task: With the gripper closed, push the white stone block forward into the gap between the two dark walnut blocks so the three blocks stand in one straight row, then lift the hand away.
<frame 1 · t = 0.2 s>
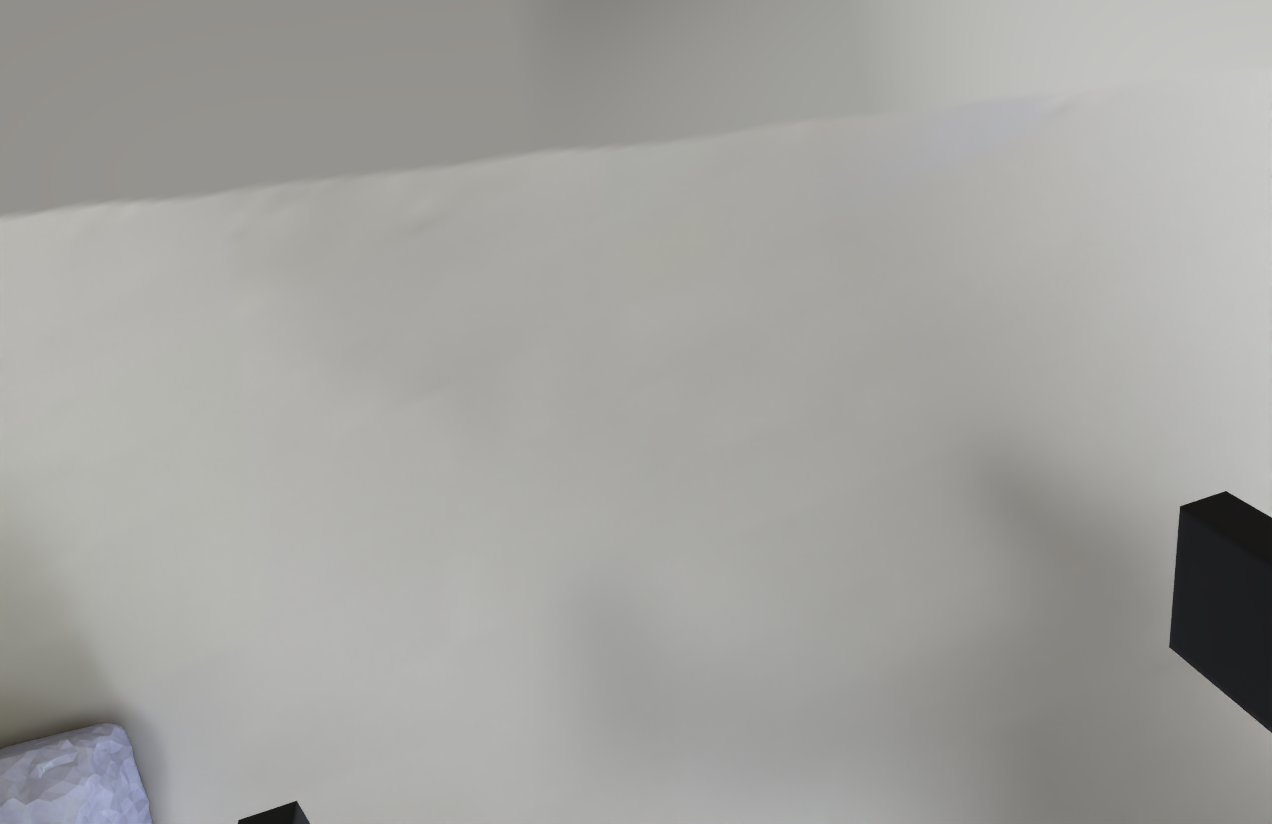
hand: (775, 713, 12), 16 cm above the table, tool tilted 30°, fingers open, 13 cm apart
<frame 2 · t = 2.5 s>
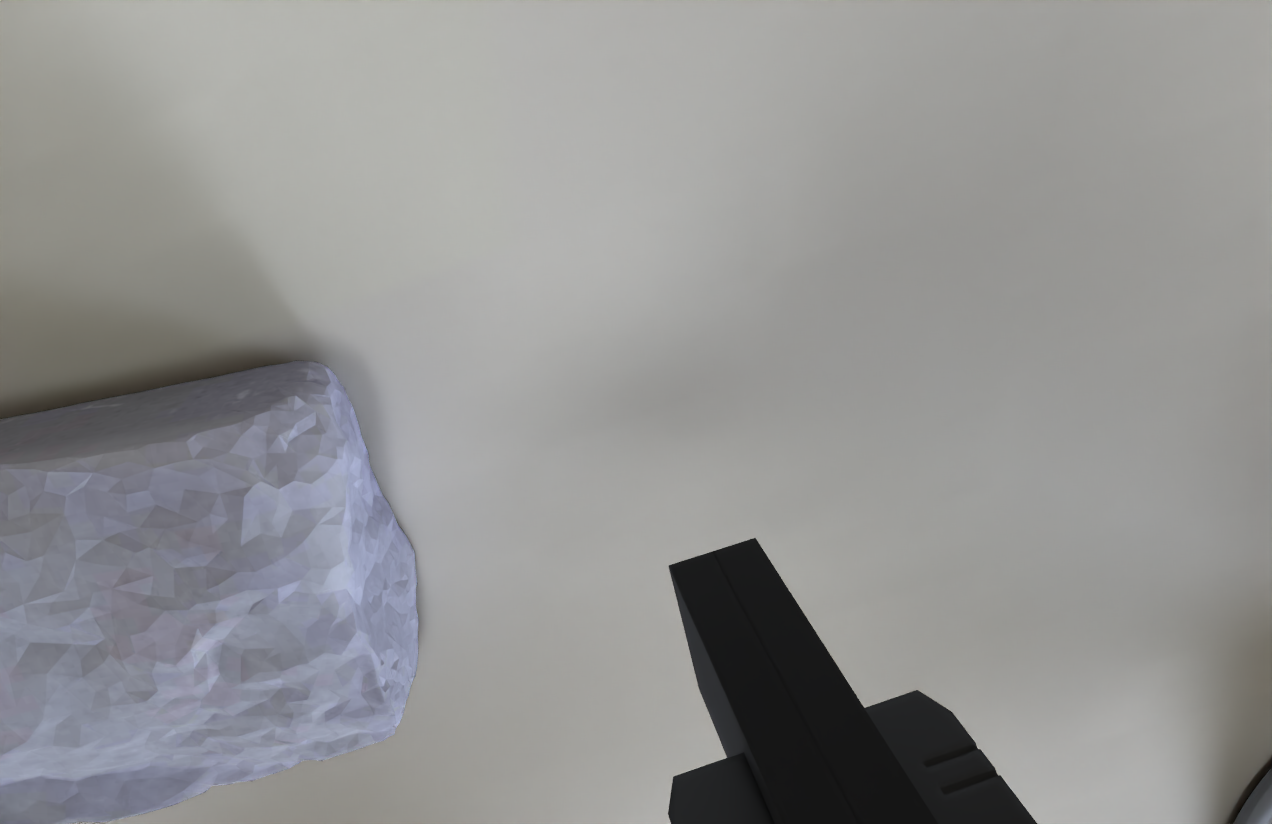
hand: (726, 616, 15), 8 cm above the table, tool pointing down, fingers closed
stone block: (157, 575, 21), on the table
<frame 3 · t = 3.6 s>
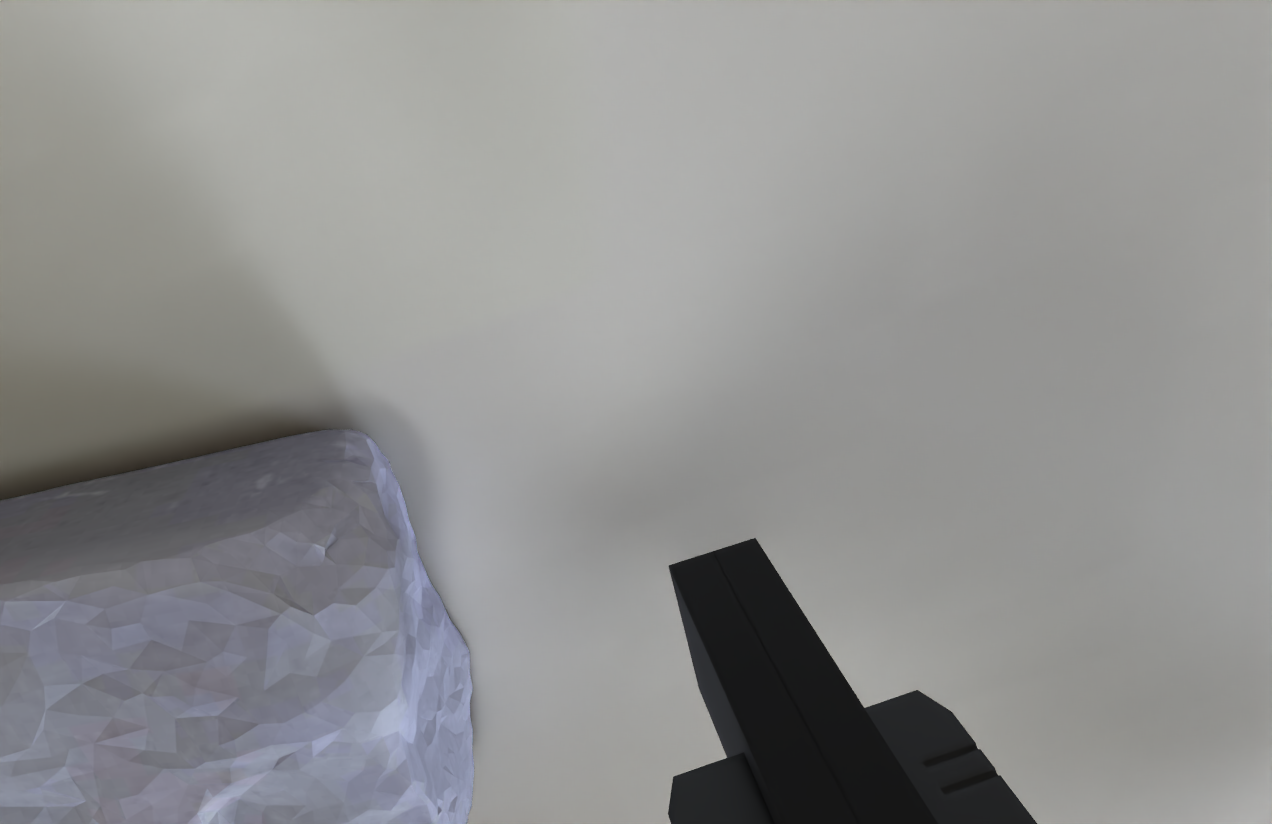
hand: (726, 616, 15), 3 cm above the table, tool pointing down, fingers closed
stone block: (154, 686, 17), on the table
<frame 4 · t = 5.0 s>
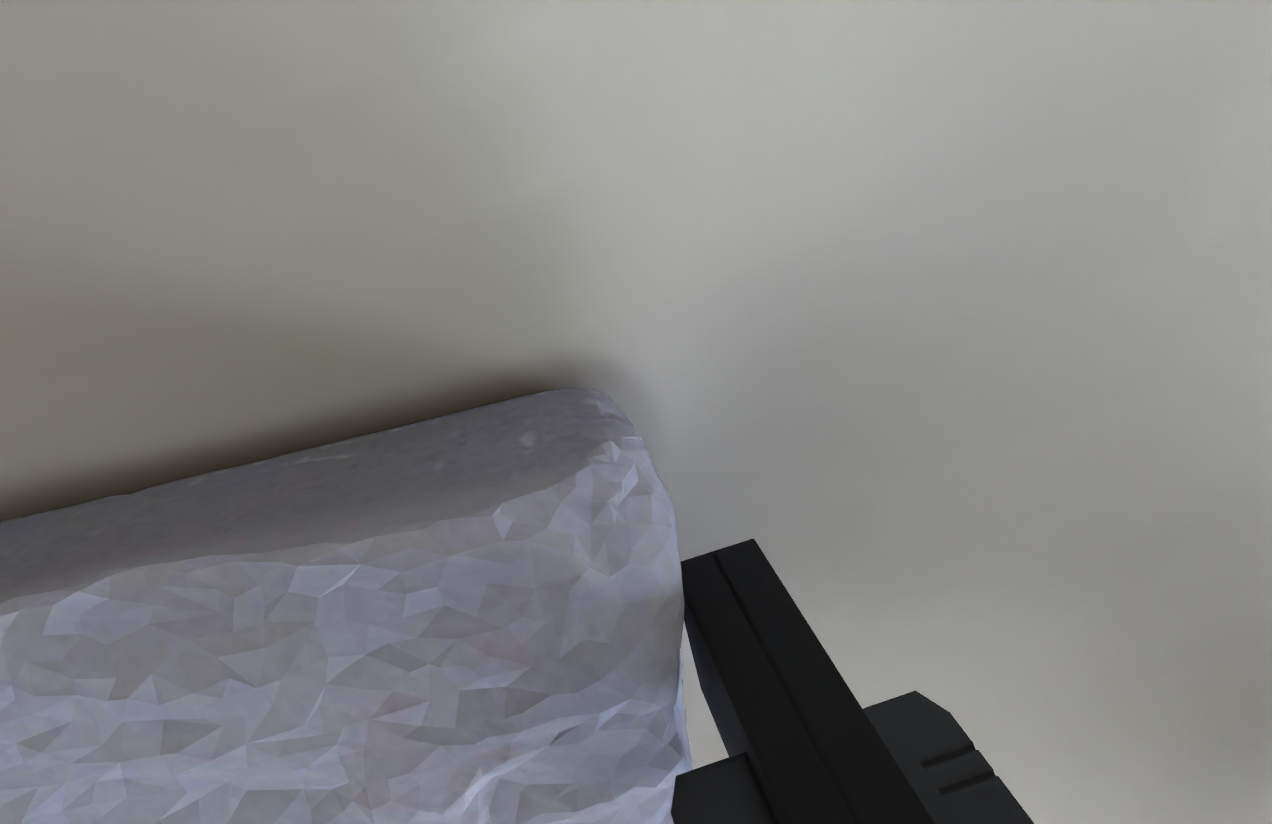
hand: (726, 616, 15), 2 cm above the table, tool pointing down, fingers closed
stone block: (359, 666, 16), on the table, touching gripper
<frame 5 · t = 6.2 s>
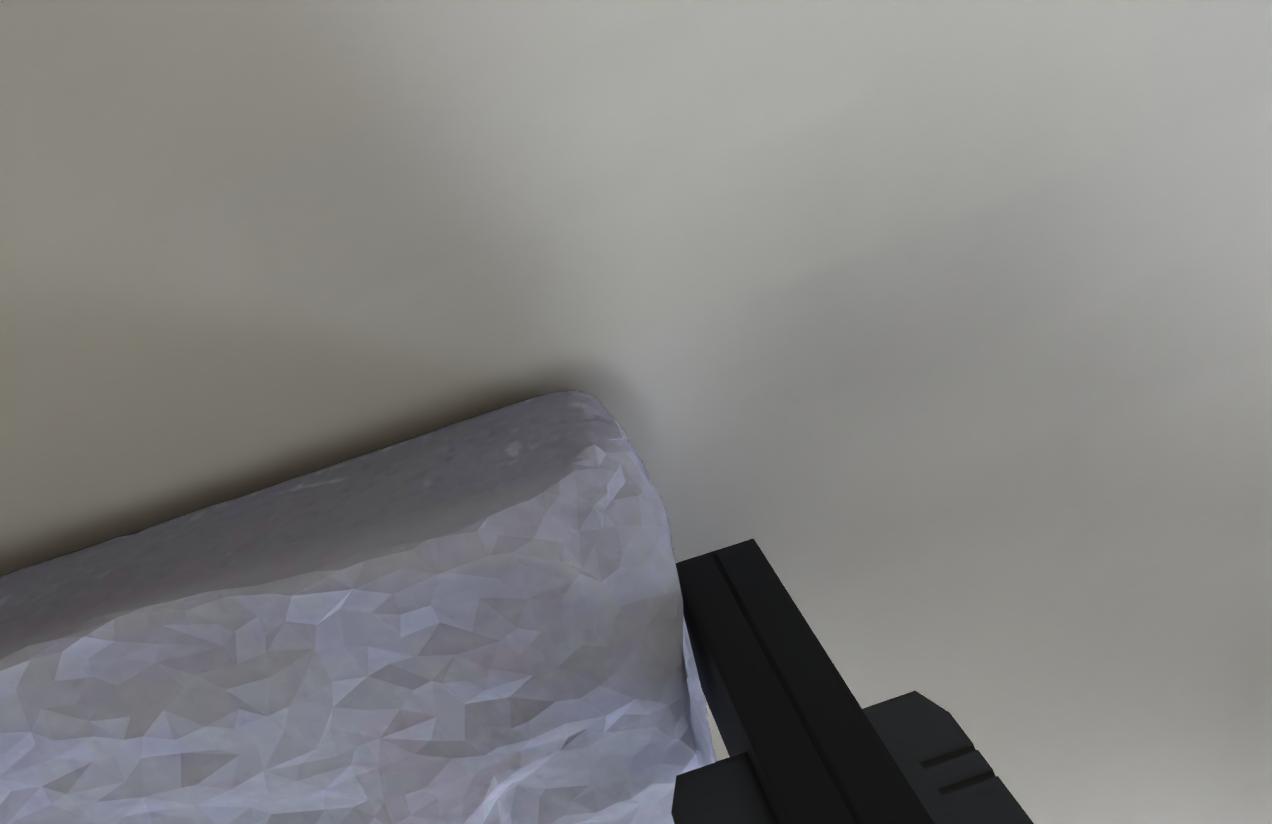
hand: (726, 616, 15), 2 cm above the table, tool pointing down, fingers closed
stone block: (379, 681, 16), on the table, touching gripper
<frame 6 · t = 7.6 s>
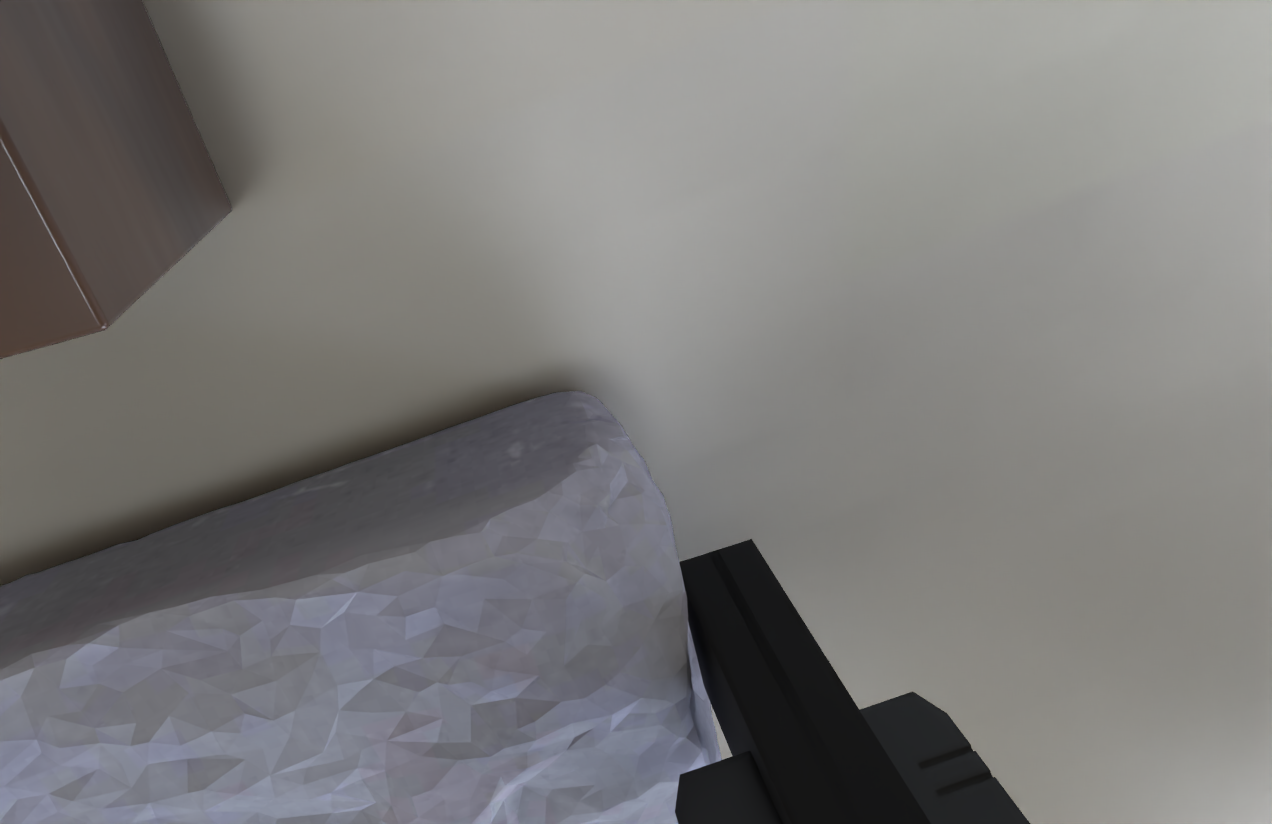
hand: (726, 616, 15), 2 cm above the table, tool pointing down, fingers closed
stone block: (384, 684, 16), on the table, touching gripper
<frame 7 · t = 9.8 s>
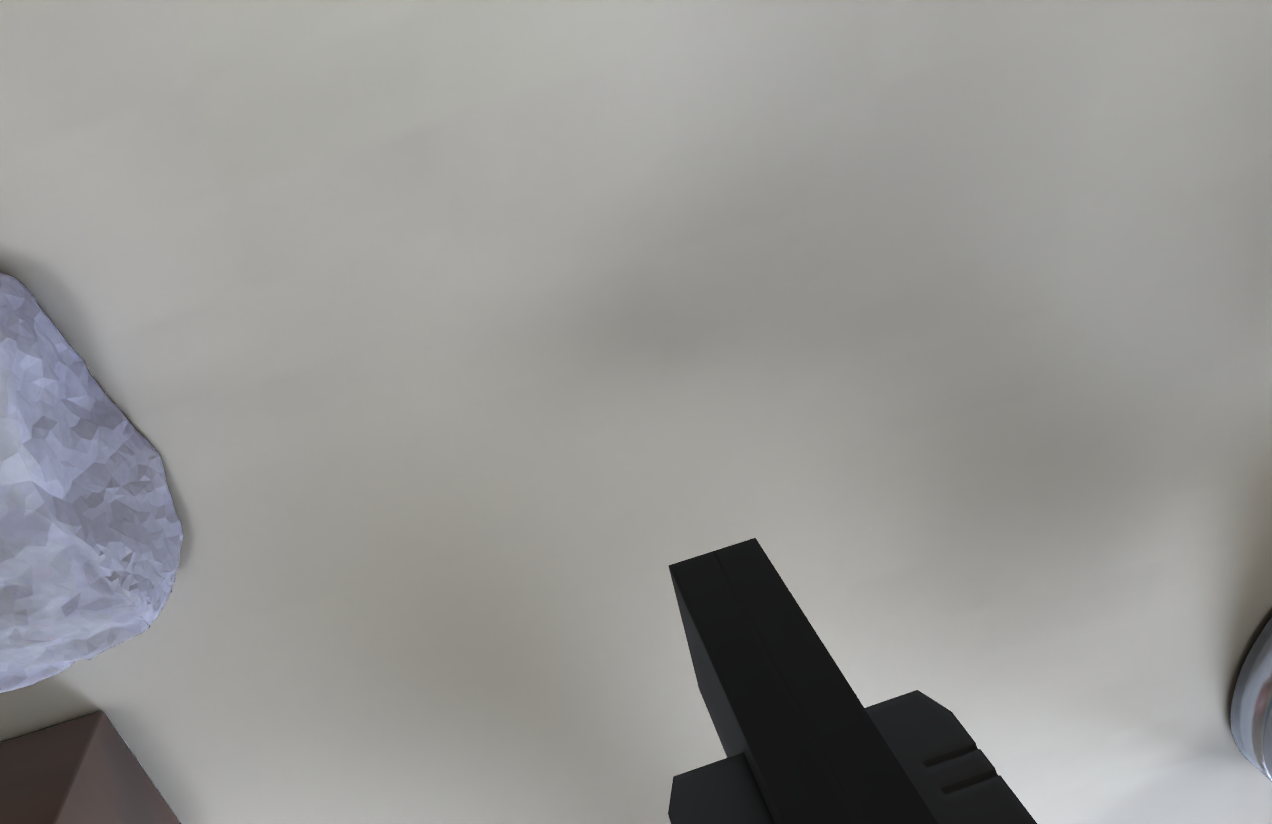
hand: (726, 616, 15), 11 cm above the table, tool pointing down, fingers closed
walnut block 2: (54, 803, 26), on the table
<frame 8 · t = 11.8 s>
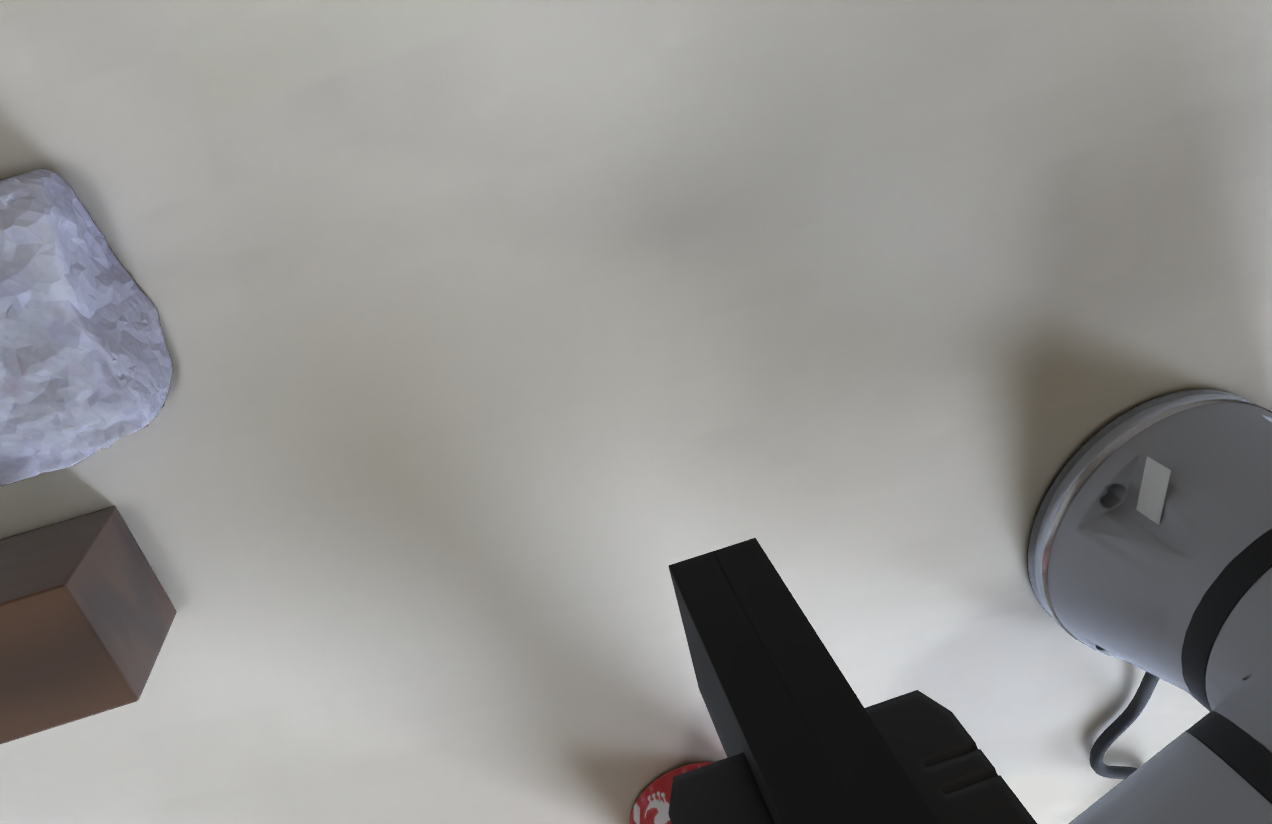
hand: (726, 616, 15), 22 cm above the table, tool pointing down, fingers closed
mug: (691, 783, 48), on the table
walnut block 2: (80, 580, 35), on the table
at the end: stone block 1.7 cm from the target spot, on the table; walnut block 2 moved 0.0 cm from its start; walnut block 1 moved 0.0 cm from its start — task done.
